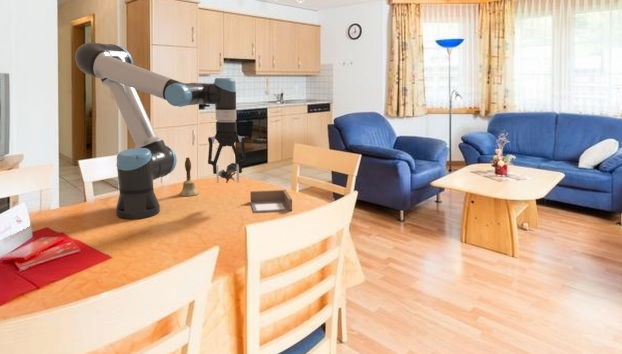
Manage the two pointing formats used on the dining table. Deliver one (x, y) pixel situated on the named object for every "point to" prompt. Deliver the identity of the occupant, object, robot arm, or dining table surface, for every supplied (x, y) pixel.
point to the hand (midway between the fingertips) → (227, 181)
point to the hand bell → (188, 182)
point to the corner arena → (271, 201)
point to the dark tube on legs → (228, 172)
